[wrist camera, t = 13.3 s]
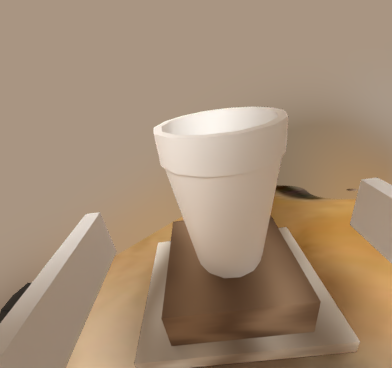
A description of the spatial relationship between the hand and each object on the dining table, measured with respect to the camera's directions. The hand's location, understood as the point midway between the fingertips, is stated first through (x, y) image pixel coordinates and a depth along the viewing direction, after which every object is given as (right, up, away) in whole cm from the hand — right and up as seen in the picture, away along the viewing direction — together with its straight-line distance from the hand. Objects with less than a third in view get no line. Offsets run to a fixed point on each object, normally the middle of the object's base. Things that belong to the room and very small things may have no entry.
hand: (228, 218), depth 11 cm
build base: (+2, -10, +13) cm, 16 cm away
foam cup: (+2, -5, +10) cm, 12 cm away
